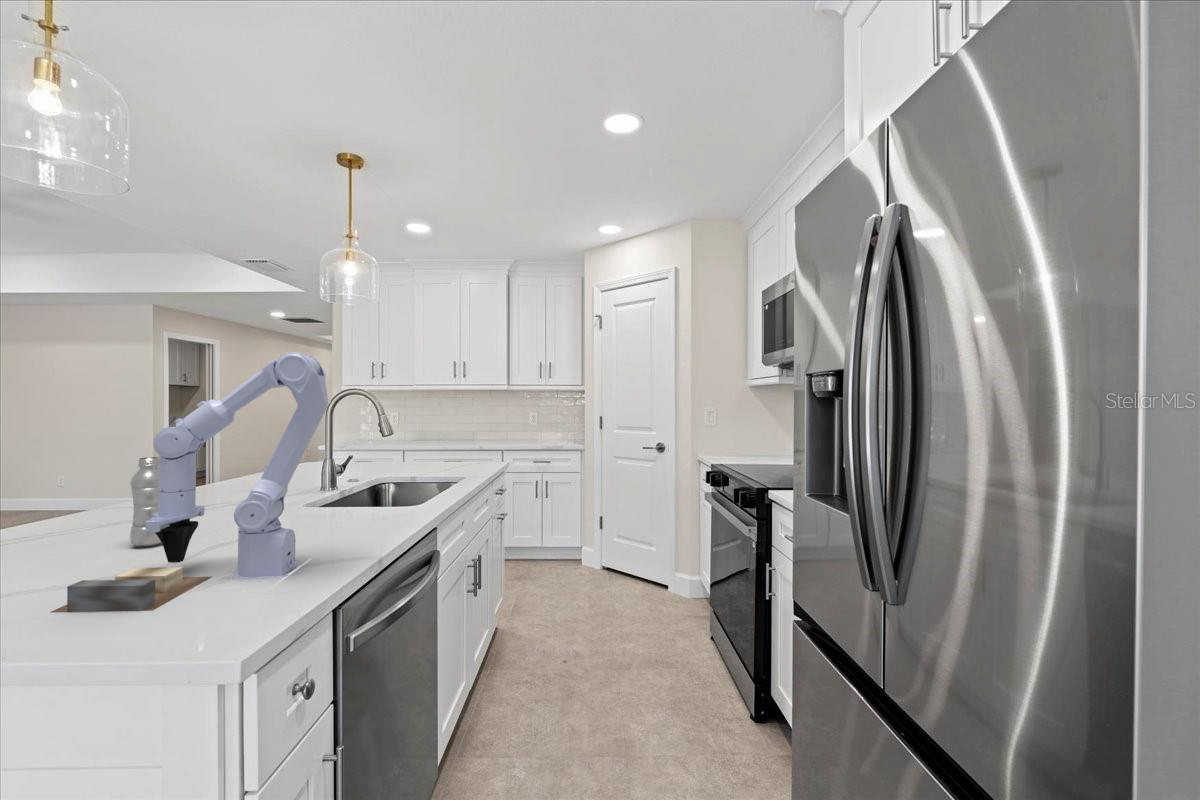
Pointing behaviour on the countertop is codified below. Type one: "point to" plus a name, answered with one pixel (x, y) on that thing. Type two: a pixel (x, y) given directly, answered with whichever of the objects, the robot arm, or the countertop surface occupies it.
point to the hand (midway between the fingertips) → (175, 561)
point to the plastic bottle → (145, 501)
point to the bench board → (121, 595)
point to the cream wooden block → (156, 577)
